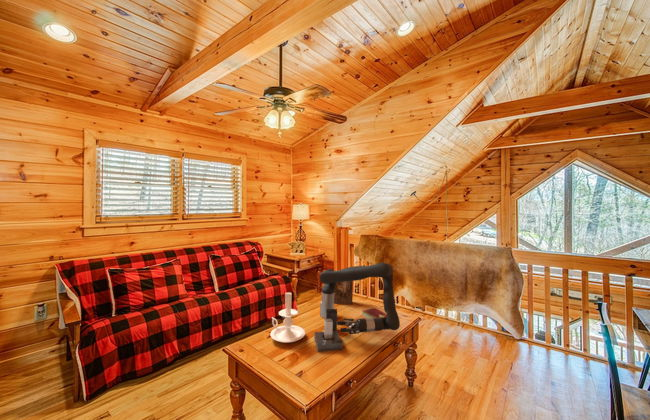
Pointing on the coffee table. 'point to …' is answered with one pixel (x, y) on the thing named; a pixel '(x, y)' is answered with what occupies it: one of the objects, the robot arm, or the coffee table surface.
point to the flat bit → (332, 317)
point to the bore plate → (328, 342)
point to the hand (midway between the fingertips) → (338, 326)
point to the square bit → (328, 329)
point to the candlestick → (287, 324)
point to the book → (343, 292)
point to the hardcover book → (373, 313)
